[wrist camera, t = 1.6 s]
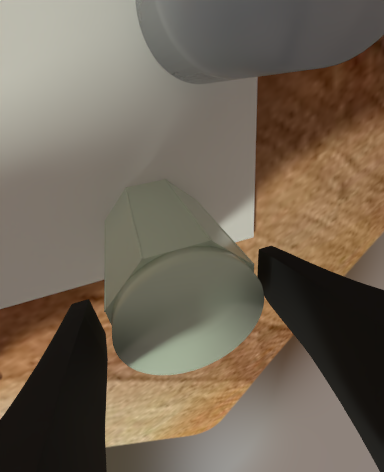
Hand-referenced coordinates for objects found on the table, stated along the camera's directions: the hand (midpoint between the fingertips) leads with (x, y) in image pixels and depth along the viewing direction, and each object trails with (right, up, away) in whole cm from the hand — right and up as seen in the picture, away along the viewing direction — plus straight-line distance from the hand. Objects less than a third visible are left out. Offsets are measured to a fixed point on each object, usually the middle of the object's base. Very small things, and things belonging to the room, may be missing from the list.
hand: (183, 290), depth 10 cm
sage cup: (-2, +3, +5) cm, 6 cm away
